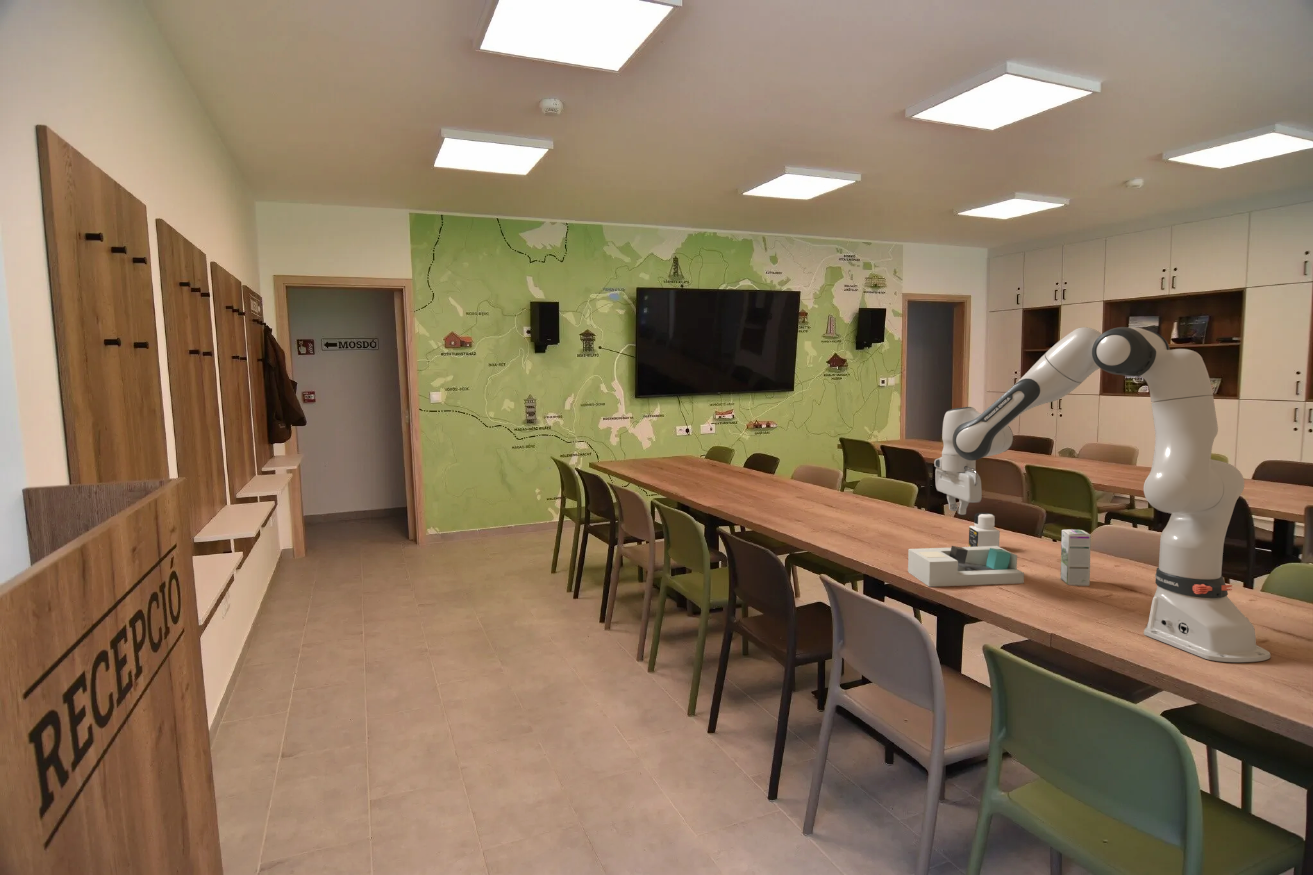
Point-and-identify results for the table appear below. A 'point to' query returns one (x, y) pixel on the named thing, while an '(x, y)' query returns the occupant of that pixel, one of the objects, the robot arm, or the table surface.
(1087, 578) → the syrup box
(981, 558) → the pocket board
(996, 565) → the teal block
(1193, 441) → the robot arm
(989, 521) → the medicine bottle
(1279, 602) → the table surface
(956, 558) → the ejector lever
